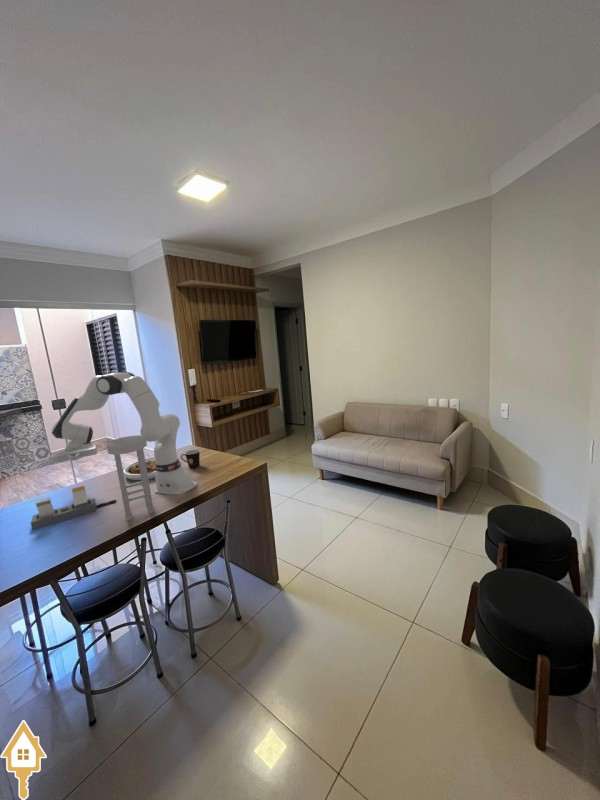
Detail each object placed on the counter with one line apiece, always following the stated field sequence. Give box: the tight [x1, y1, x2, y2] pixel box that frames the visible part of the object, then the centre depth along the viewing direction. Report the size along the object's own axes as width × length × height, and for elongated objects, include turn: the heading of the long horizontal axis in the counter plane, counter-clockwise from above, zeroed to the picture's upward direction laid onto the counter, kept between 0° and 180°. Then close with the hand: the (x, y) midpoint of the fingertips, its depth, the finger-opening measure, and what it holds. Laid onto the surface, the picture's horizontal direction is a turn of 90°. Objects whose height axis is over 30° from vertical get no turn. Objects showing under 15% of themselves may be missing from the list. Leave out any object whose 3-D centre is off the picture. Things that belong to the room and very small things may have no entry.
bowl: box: [123, 456, 157, 481], centre depth 196 cm, size 30×30×8 cm
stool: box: [106, 434, 155, 521], centre depth 144 cm, size 16×16×35 cm
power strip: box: [30, 497, 117, 531], centre depth 150 cm, size 33×8×5 cm, turn 124°
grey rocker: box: [35, 496, 54, 516], centre depth 142 cm, size 5×2×8 cm, turn 124°
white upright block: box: [71, 485, 88, 505], centre depth 151 cm, size 5×2×8 cm, turn 124°
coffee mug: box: [180, 449, 201, 470], centre depth 199 cm, size 12×9×10 cm
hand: (73, 458), depth 157 cm, fingers closed
